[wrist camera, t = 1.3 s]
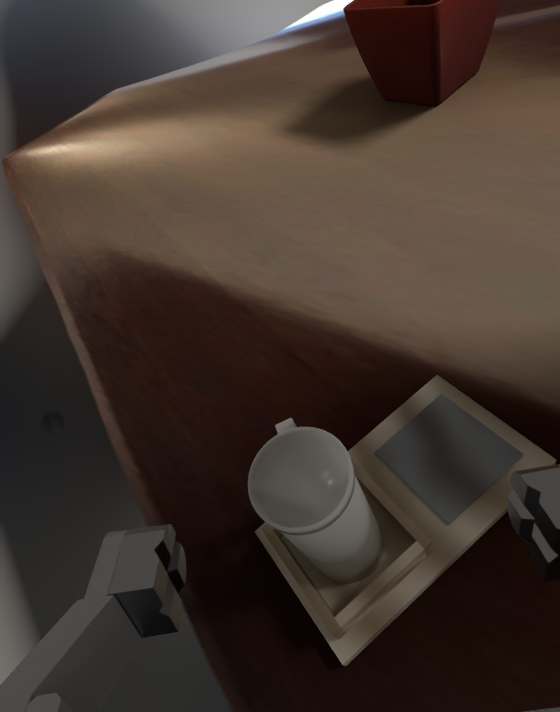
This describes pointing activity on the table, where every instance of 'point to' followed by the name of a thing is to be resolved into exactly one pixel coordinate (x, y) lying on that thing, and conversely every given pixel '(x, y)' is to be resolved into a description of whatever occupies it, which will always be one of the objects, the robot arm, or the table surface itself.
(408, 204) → the table surface
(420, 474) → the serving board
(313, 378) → the table surface
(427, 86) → the plant pot
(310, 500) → the tall white canister
